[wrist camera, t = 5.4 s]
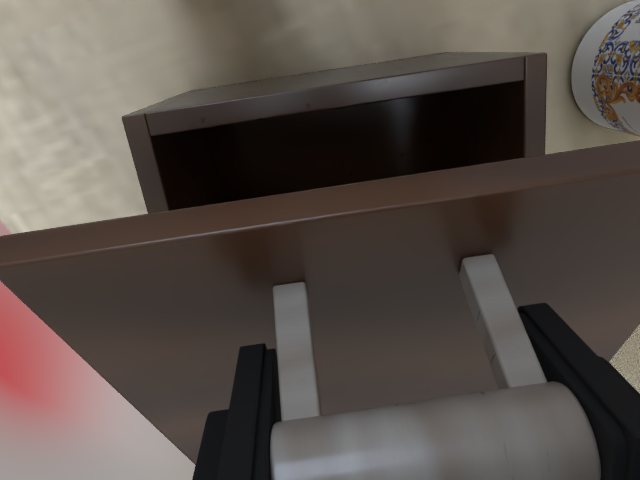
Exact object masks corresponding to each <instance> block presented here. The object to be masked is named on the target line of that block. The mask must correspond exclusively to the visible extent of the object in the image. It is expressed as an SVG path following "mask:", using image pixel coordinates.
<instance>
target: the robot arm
mask: <svg viewBox="0 0 640 480" xmlns="http://www.w3.org/2000/svg"><path fill="white" fill-rule="evenodd" d="M517 311H518V313H519V316H520V318H521V320H522V323H523V325H524V328H525V330H526V332H527V335H528V337H529V340H530V342H531V344H532V347H533V349H534V351H535V354H536V356H537V359H538V361H539V363H540V366H541V368H542V371H543V373H544V375H545V378H546V380H547V382H551V381H555V382H559V383H562V384H564V385H565V386H566V387H568V388H569V389H570V390H571V392H572V393H573V394H574V395H575V397H576V398H577V399H578V401H579V402H580V404H581V406H582V408H583V409H584V411H585V413H586V415H587V417H588V420H589V422H590V425H591V427H592V430H593V433H594V436H595V439H596V443H597V447H598V451H599V456H600V464H601V479H600V480H640V394H639V393H638V392H637V391H636V390H635V389H634V388H633V387H632V386H631V385H630V384H629V383H628V382H627V381H626V379H625V378H624V377H623V376H622V375H621V374H620V373H619V372H618V371H617V370H616V369H615V368H614V367H613V366H612V365H611V364H610V363H609V362H608V361H607V360H605V359H604V358H603V357H600V356H597V355H596V354H595V353H594V352H593V351H592V350H591V348H590V347H589V346H588V345H587V344H586V343H585V342H584V341H583V340H582V339H581V338H580V337H579V336H578V335H577V334H576V333H575V332H574V331H573V330H572V329H571V328H570V327H569V326H568V325H567V324H566V322H565V321H564V320H563V319H562V318H561V317H560V316H559V315H558V314H557V313H556V312H555V311H554V310H553V309H552V308H551V307H550V306H549V305H548V304H547V303H538V304H531V305H524V306H519V307H518V309H517ZM280 421H281V410H280V394H279V378H278V363H277V353H276V350H275V348H273V349H267V347H266V344H265V343H262V344H255V345H248V346H241V347H240V349H239V354H238V360H237V365H236V371H235V377H234V383H233V388H232V394H231V400H230V405H229V409H225V410H218V411H212V412H210V413H209V414H208V416H207V419H206V423H205V427H204V431H203V436H202V440H201V444H200V449H199V453H198V458H197V462H196V466H195V471H194V475H193V480H271V475H270V435H271V430H272V426H273V424H275V423H276V422H280Z"/></svg>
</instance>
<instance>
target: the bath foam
mask: <svg viewBox="0 0 640 480" xmlns="http://www.w3.org/2000/svg"><path fill="white" fill-rule="evenodd" d="M571 84H572V90H573V94H574V98H575V100H576V102H577V104H578V106H579V108H580V109H581V111H582V112H583V113H584V114H585V115H586V116H587V117H588V118H589V119H590V120H592V121H593V122H595V123H597V124H599V125H601V126H603V127H606V128H610V129H614V130H618V131H622V132H625V133H629V134H633V135H637V136H640V0H635V1H631V2H628V3H625V4H622V5H620V6H618V7H616V8H614V9H612V10H611V11H609V12H608V13H606V14H605V15H604V16H602V17H601V18H600V19H599V20H598V21H597V22H596V23H595V24H594V25H593V26H592V27H591V28H590V29H589V31H588V32H587V33H586V35H585V36H584V38H583V39H582V41H581V43H580V45H579V47H578V49H577V52H576V54H575V57H574V61H573V65H572V72H571Z"/></svg>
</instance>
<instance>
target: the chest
mask: <svg viewBox="0 0 640 480" xmlns="http://www.w3.org/2000/svg"><path fill="white" fill-rule="evenodd" d="M546 81H547V54H546V53H504V52H445V53H438V54H432V55H425V56H418V57H412V58H405V59H398V60H392V61H385V62H378V63H372V64H365V65H358V66H352V67H345V68H338V69H332V70H325V71H319V72H312V73H305V74H299V75H292V76H285V77H279V78H272V79H265V80H259V81H252V82H245V83H239V84H232V85H225V86H219V87H212V88H205V89H199V90H192V91H188V92H185V93H183V94H180V95H177V96H175V97H172V98H169V99H167V100H164V101H162V102H159V103H156V104H154V105H151V106H148V107H146V108H143V109H140V110H138V111H135V112H132V113H130V114H127V115H124V116H122V121H123V125H124V128H125V132H126V135H127V139H128V143H129V146H130V150H131V153H132V157H133V161H134V164H135V168H136V171H137V175H138V179H139V182H140V186H141V190H142V193H143V197H144V200H145V204H146V208H147V211H148V214H151V213H158V212H164V211H171V210H178V209H185V208H191V207H198V206H205V205H211V204H218V203H225V202H231V201H238V200H245V199H251V198H258V197H265V196H272V195H278V194H285V193H292V192H298V191H305V190H312V189H318V188H325V187H332V186H338V185H345V184H352V183H358V182H365V181H372V180H379V179H385V178H392V177H399V176H405V175H412V174H419V173H425V172H432V171H439V170H445V169H452V168H459V167H466V166H472V165H479V164H486V163H492V162H499V161H506V160H512V159H519V158H526V157H532V156H539V155H545V129H546Z"/></svg>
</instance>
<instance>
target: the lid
mask: <svg viewBox="0 0 640 480" xmlns="http://www.w3.org/2000/svg"><path fill="white" fill-rule="evenodd" d="M0 281H1V282H2V283H3V284H4V285H6V287H8V288H9V289H10V290H11V291H12V292H13V293H14V294H15V295H16V296H17V297H18V298H19V299H20V300H21V301H22V302H23V303H25V304H26V305H27V306H28V307H29V308H30V309H31V310H32V311H33V312H34V313H35V314H36V315H37V316H38V317H39V318H40V319H41V320H43V321H44V322H45V323H46V324H47V325H48V326H49V327H50V328H51V329H52V330H53V331H54V332H55V333H56V334H57V335H58V336H60V337H61V338H62V339H63V340H64V341H65V342H66V343H67V344H68V345H69V346H70V347H71V348H72V349H73V350H74V351H75V352H76V353H78V354H79V355H80V356H81V357H82V358H83V359H84V360H85V361H86V362H87V363H88V364H89V365H90V366H91V367H92V368H93V369H94V370H96V371H97V372H98V373H99V374H100V375H101V376H102V377H103V378H104V379H105V380H106V381H107V382H108V383H109V384H110V385H112V387H114V388H115V389H116V390H117V391H118V392H119V393H120V394H121V395H122V396H123V397H124V398H125V399H126V400H127V401H129V403H131V404H132V405H133V406H134V407H135V408H136V409H137V410H138V411H139V412H140V413H141V414H142V415H143V416H144V417H145V418H146V419H147V420H149V421H150V422H151V423H152V424H153V425H154V426H155V427H156V428H157V429H158V430H159V431H160V432H161V433H163V435H164V436H165V437H167V438H168V439H169V440H170V441H171V442H172V443H173V444H174V445H175V446H176V447H177V448H178V449H179V450H180V451H181V452H182V453H183V454H185V455H186V456H187V457H188V458H189V459H190V460H191V461H192V462H193V463H194V464H195V465H196V462H197V458H198V453H199V449H200V444H201V440H202V436H203V431H204V427H205V423H206V419H207V416H208V414H209V413H210V412H212V411H218V410H225V409H229V405H230V400H231V394H232V388H233V383H234V377H235V371H236V365H237V360H238V354H239V349H240V347H241V346H248V345H255V344H262V343H265V344H266V347H267V349H273V348H275V350H276V353H277V363H278V378H279V394H280V410H281V421H280V422H276V423H275V424H273V426H272V430H271V435H270V475H271V480H600V479H601V464H600V456H599V451H598V447H597V443H596V439H595V436H594V433H593V430H592V427H591V425H590V422H589V420H588V417H587V415H586V413H585V411H584V409H583V408H582V406H581V404H580V402H579V401H578V399H577V398H576V397H575V395H574V394H573V393H572V392H571V390H570V389H569V388H568V387H566V386H565V385H564V384H562V383H559V382H555V381H551V382H547V380H546V378H545V375H544V373H543V371H542V368H541V366H540V363H539V361H538V359H537V356H536V354H535V351H534V349H533V347H532V344H531V342H530V340H529V337H528V335H527V332H526V330H525V328H524V325H523V323H522V320H521V318H520V316H519V313H518V311H517V309H518V307H519V306H524V305H531V304H538V303H547V304H548V305H549V306H550V307H551V308H552V309H553V310H554V311H555V312H556V313H557V314H558V315H559V316H560V317H561V318H562V319H563V320H564V321H565V322H566V324H567V325H568V326H569V327H570V328H571V329H572V330H573V331H574V332H575V333H576V334H577V335H578V336H579V337H580V338H581V339H582V340H583V341H584V342H585V343H586V344H587V345H588V346H589V347H590V348H591V350H592V351H593V352H594V353H595V354H596V355H597V356H600V357H603V358H604V359H605V360H607V361H608V362H609V361H610V360H611V359H612V357H613V356H614V355H615V354H616V352H617V351H618V350H619V349H620V348H621V346H622V345H623V344H624V343H625V341H626V340H627V339H628V338H629V336H630V335H631V334H632V333H633V332H634V330H635V329H636V328H637V327H638V325H639V324H640V141H633V142H626V143H619V144H613V145H606V146H599V147H593V148H586V149H579V150H573V151H566V152H559V153H553V154H546V155H539V156H532V157H526V158H519V159H512V160H506V161H499V162H492V163H486V164H479V165H472V166H466V167H459V168H452V169H445V170H439V171H432V172H425V173H419V174H412V175H405V176H399V177H392V178H385V179H379V180H372V181H365V182H358V183H352V184H345V185H338V186H332V187H325V188H318V189H312V190H305V191H298V192H292V193H285V194H278V195H272V196H265V197H258V198H251V199H245V200H238V201H231V202H225V203H218V204H211V205H205V206H198V207H191V208H185V209H178V210H171V211H164V212H158V213H151V214H144V215H138V216H131V217H124V218H118V219H111V220H104V221H98V222H91V223H84V224H77V225H71V226H64V227H57V228H51V229H44V230H37V231H31V232H24V233H17V234H11V235H4V236H0Z"/></svg>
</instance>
